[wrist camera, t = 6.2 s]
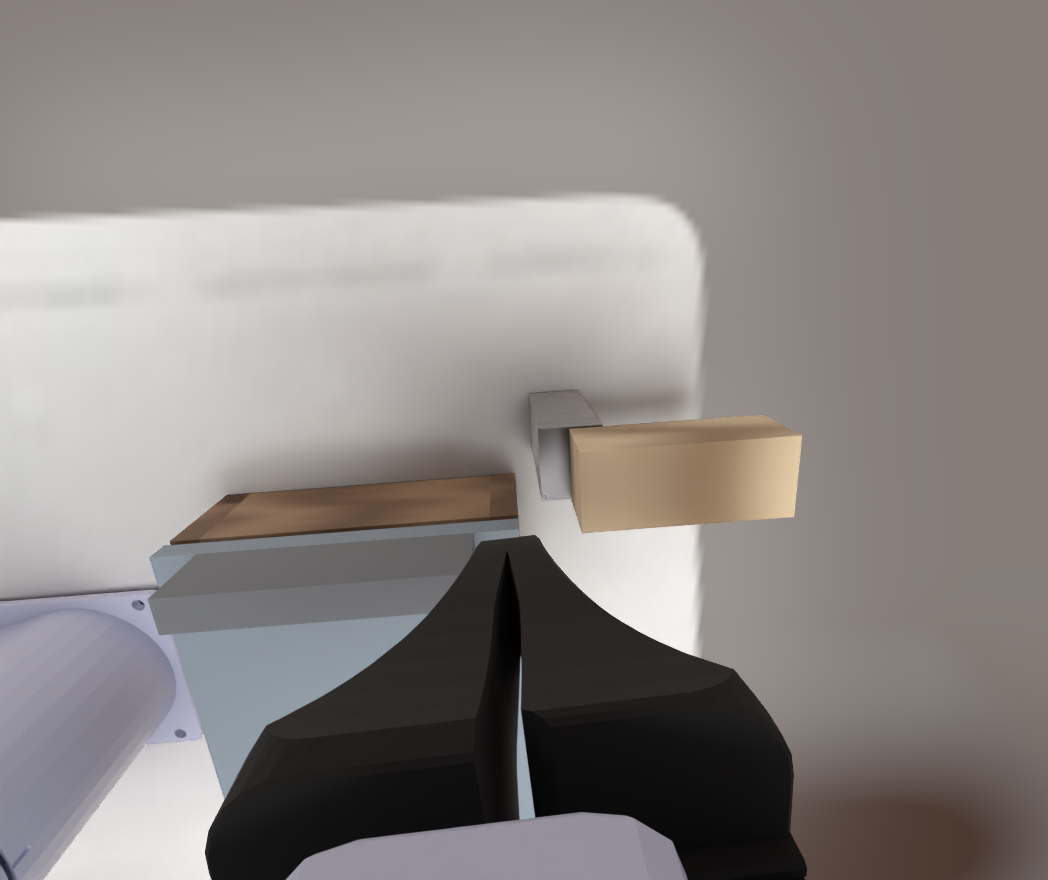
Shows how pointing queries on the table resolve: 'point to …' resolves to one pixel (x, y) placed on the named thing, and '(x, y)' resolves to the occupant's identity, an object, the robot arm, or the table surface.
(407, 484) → the brown wooden shallow box
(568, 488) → the block
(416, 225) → the table surface
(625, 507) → the tan wooden block
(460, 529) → the lid
